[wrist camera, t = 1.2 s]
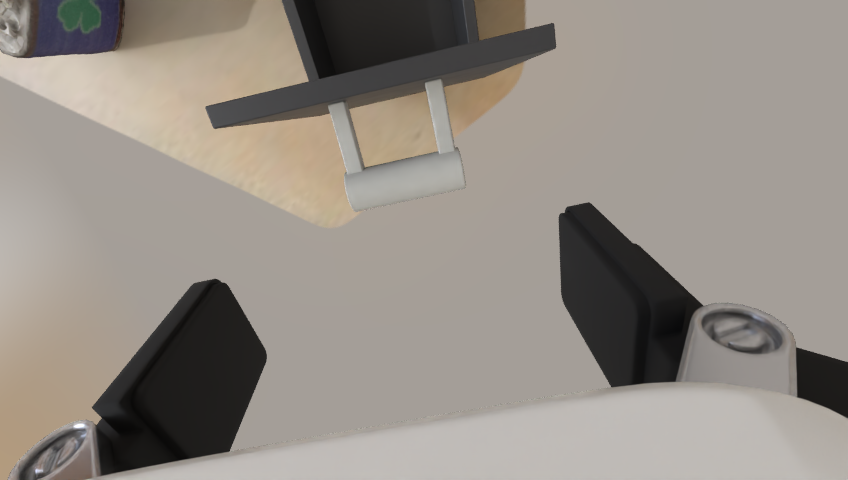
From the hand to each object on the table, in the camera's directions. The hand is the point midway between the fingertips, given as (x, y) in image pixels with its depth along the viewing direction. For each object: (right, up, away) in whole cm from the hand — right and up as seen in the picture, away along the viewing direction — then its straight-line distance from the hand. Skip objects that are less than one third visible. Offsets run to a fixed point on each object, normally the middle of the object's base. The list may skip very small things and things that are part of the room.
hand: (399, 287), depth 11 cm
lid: (-1, +10, +10) cm, 14 cm away
